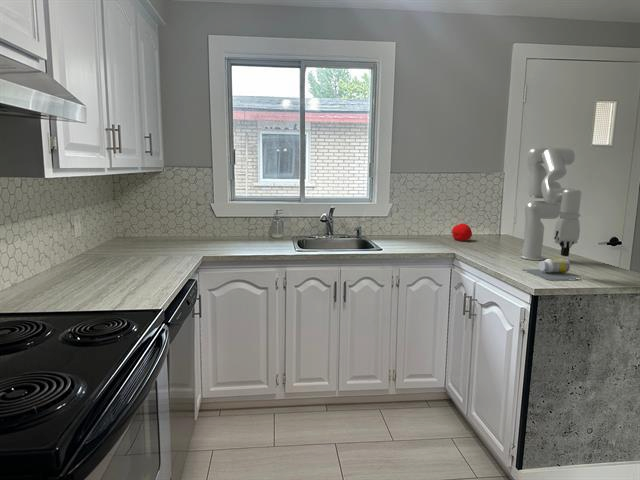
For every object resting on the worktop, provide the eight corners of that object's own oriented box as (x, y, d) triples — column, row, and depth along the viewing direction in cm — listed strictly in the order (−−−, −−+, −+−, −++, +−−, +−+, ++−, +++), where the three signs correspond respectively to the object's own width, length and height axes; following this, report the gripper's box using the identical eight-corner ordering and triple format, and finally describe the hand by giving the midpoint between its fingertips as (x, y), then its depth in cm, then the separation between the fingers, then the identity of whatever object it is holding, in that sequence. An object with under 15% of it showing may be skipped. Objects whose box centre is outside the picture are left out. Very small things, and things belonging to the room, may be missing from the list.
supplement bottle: (559, 263, 213) (535, 264, 211) (566, 255, 208) (542, 255, 206) (565, 275, 209) (540, 275, 207) (573, 267, 204) (548, 267, 202)
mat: (522, 270, 213) (522, 269, 213) (552, 269, 216) (552, 268, 216) (549, 280, 194) (549, 279, 194) (581, 280, 196) (581, 279, 196)
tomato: (470, 246, 295) (456, 243, 307) (479, 230, 296) (465, 228, 308) (457, 236, 290) (444, 234, 302) (467, 220, 291) (453, 218, 303)
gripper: (577, 215, 206) (573, 254, 209) (548, 215, 204) (544, 254, 207) (589, 217, 199) (585, 257, 202) (559, 217, 196) (555, 257, 199)
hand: (564, 255), depth 204 cm, fingers closed
